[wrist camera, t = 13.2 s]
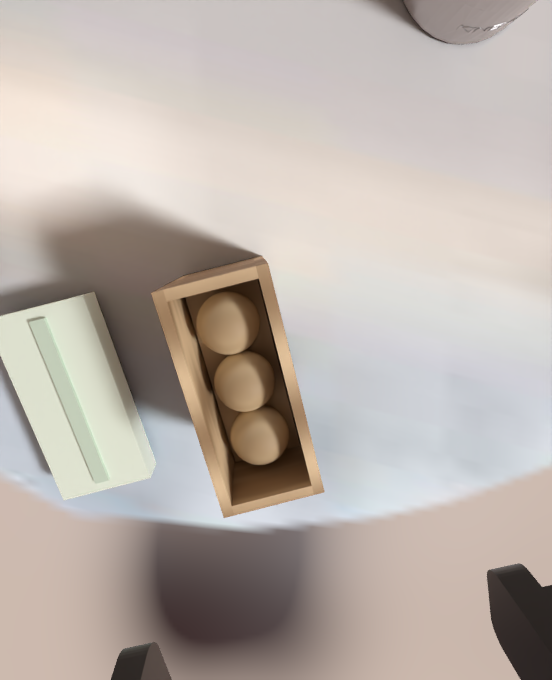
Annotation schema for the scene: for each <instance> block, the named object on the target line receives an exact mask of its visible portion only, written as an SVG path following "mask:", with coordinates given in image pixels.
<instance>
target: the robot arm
mask: <svg viewBox="0 0 552 680" xmlns="http://www.w3.org/2000/svg"><path fill="white" fill-rule="evenodd" d="M403 1H404V4H405V5H406V7H407V9H408V11H409V12H410V14H411V16H412V18H413V19H414V20H415V21H416V22H417V23H418V24H419V26H420V27H421V28H422V29H423V30H425V31H426V32H428V33H429V34H430V35H432V36H433V37H435V38H437V39H440V40H442V41H445V42H447V43H454V44H470V43H477V42H480V41H482V40H485V39H488V38H490V37H492V36H493V35H495V34H496V33H498V32H499V31H501V30H503V29H504V28H505V27H506V26H508V25H509V24H510V23H511V22H513V21H514V20H515V19H517V18H518V17H519V16H521V15H522V14H523V13H524V12H526V11H527V10H528V9H529V7H530V6H532V5H533V4H534V3H535V2H536V1H538V0H403ZM487 580H488V591H489V601H490V612H491V620H492V624H493V627H494V630H495V633H496V636H497V638H498V640H499V643H500V645H501V647H502V648H503V650H504V652H505V654H506V655H507V657H508V659H509V661H510V662H511V664H512V666H513V667H514V669H515V671H516V672H517V674H518V676H519V677H520V679H521V680H552V585H550V586H545V587H541V585H540V584H539V583H538V582H537V580H536V579H535V578H534V577H533V576H532V575H531V573H530V572H529V571H528V570H527V568H525V567H524V566H523V565H522V564H514V565H510V566H505V567H501V568H496V569H491V570H488V572H487ZM111 680H171V677H170V674H169V672H168V669H167V667H166V664H165V662H164V659H163V657H162V654H161V651H160V649H159V646H158V645H157V643H155V642H153V643H148V644H144V645H139V646H135V647H130V648H125V649H123V650H122V651H121V653H120V654H119V657H118V659H117V662H116V665H115V668H114V672H113V674H112V678H111Z"/></svg>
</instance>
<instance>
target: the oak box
mask: <svg viewBox="0 0 552 680" xmlns="http://www.w3.org/2000/svg"><path fill="white" fill-rule="evenodd" d="M151 295H152V298H153V301H154V304H155V307H156V310H157V313H158V316H159V320H160V323H161V326H162V329H163V332H164V335H165V338H166V341H167V344H168V347H169V350H170V353H171V356H172V360H173V363H174V366H175V369H176V372H177V375H178V378H179V381H180V384H181V387H182V390H183V393H184V396H185V399H186V403H187V406H188V409H189V412H190V415H191V418H192V421H193V424H194V427H195V430H196V433H197V436H198V439H199V443H200V446H201V449H202V452H203V455H204V458H205V461H206V464H207V467H208V470H209V473H210V476H211V479H212V483H213V486H214V489H215V492H216V495H217V498H218V501H219V504H220V507H221V510H222V513H223V516H224V518H226V517H230V516H234V515H238V514H241V513H245V512H249V511H253V510H257V509H261V508H265V507H269V506H273V505H276V504H280V503H284V502H288V501H292V500H296V499H300V498H304V497H308V496H312V495H315V494H319V493H323V492H324V488H323V484H322V480H321V476H320V472H319V468H318V464H317V460H316V456H315V452H314V448H313V444H312V440H311V436H310V432H309V428H308V424H307V419H306V415H305V411H304V407H303V403H302V399H301V395H300V391H299V387H298V383H297V379H296V375H295V371H294V367H293V363H292V359H291V355H290V351H289V347H288V343H287V338H286V334H285V330H284V326H283V322H282V318H281V314H280V310H279V306H278V302H277V298H276V294H275V290H274V286H273V282H272V278H271V274H270V270H269V266H268V263H267V262H266V260H265V259H264V258H263V257H262V256H259V257H255V258H251V259H247V260H243V261H239V262H235V263H231V264H228V265H224V266H220V267H216V268H212V269H208V270H204V271H200V272H196V273H192V274H188V275H184V276H182V277H180V278H178V279H176V280H174V281H173V282H171V283H169V284H167V285H165V286H163V287H161V288H159V289H157V290H155V291H154V292H152V293H151Z"/></svg>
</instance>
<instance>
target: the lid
mask: <svg viewBox="0 0 552 680" xmlns="http://www.w3.org/2000/svg"><path fill="white" fill-rule="evenodd" d="M0 356H1V358H2V360H3V363H4V365H5V367H6V370H7V372H8V374H9V376H10V379H11V381H12V383H13V386H14V388H15V390H16V392H17V395H18V397H19V399H20V402H21V404H22V406H23V408H24V411H25V413H26V415H27V417H28V420H29V422H30V424H31V427H32V429H33V431H34V433H35V436H36V438H37V440H38V443H39V445H40V447H41V449H42V452H43V454H44V456H45V459H46V461H47V463H48V465H49V468H50V470H51V472H52V474H53V477H54V479H55V481H56V484H57V486H58V488H59V490H60V493H61V495H62V497H63V500H67V499H71V498H75V497H79V496H83V495H86V494H90V493H94V492H98V491H102V490H106V489H110V488H113V487H117V486H121V485H125V484H129V483H133V482H136V481H140V480H144V479H148V478H151V475H152V473H153V470H154V468H155V466H156V461H155V458H154V456H153V453H152V450H151V447H150V444H149V442H148V439H147V436H146V433H145V431H144V428H143V425H142V422H141V420H140V417H139V414H138V411H137V409H136V406H135V403H134V400H133V398H132V395H131V392H130V389H129V387H128V384H127V381H126V378H125V376H124V373H123V370H122V367H121V364H120V362H119V359H118V356H117V353H116V351H115V348H114V345H113V342H112V340H111V337H110V334H109V331H108V329H107V326H106V323H105V320H104V318H103V315H102V312H101V309H100V307H99V304H98V301H97V298H96V295H95V293H94V292H90V293H86V294H82V295H78V296H75V297H71V298H67V299H63V300H59V301H55V302H51V303H47V304H43V305H40V306H36V307H32V308H28V309H24V310H20V311H16V312H12V313H8V314H4V315H1V316H0Z"/></svg>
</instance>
